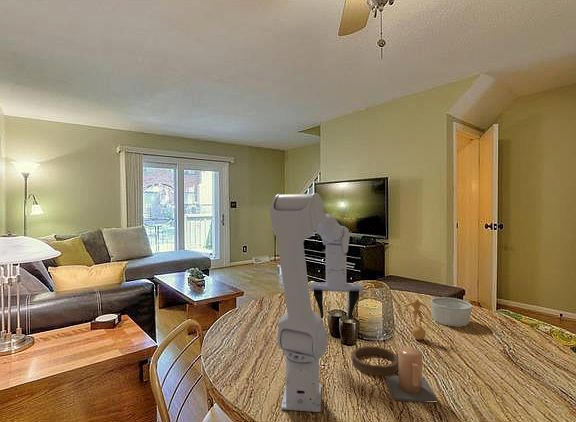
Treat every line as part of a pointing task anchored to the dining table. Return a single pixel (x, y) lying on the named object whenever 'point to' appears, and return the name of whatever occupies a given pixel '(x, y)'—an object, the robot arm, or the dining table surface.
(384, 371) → the dark brown ring
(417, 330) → the figurine
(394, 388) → the charcoal mat
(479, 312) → the dining table surface
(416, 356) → the pink rounded pillar
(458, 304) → the ramekin
